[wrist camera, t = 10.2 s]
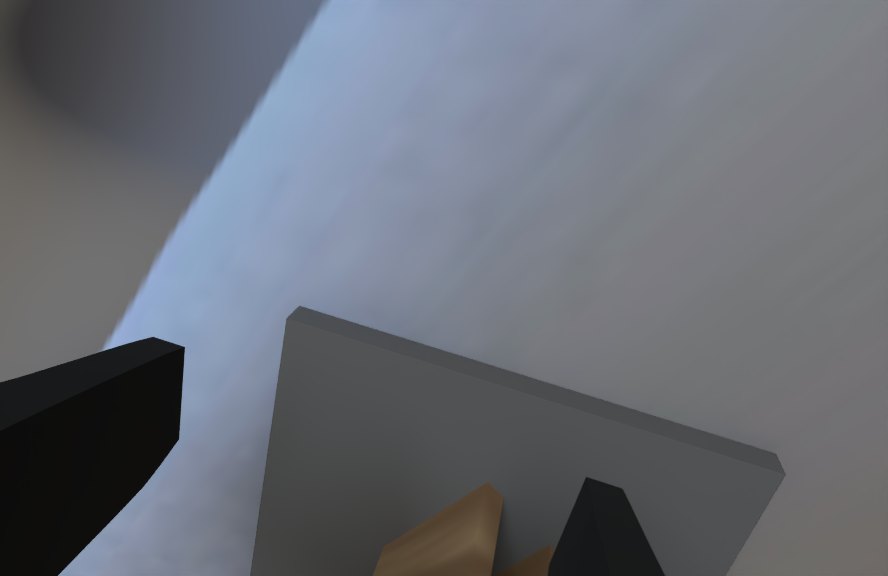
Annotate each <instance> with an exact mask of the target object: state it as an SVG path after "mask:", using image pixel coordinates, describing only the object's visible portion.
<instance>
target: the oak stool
mask: <svg viewBox="0 0 888 576" xmlns="http://www.w3.org/2000/svg"><path fill="white" fill-rule="evenodd" d="M503 499H504V498H503V497H502V496H501V495H500V494H499V493H498V492H497V491H496V490H495V489H494V488H493V487H492V486H491V485H490V483H489V482H487V483H485V484H484V485H482V486H480V487H479V488H477V489H476V490H474V491H472V492H471V493H469V494H468V495H466V496H464V497H463V498H461V499H460V500H458V501H456V502H455V503H453V504H452V505H450V506H448V507H447V508H445V509H443V510H442V511H440V512H439V513H437V514H435V515H434V516H432V517H431V518H429V519H427V520H426V521H424V522H423V523H421V524H419V525H418V526H416V527H415V528H413V529H411V530H410V531H408V532H407V533H405V534H403V535H402V536H400V537H399V538H397V539H395V540H394V541H392V542H391V543H389V544H387V545H386V546H384V547H383V550H382V552H381V555H380V558H379V560H378V563H377V566H376V568H375V571H374V573H373V576H491V572H492V566H493V560H494V554H495V548H496V541H497V535H498V529H499V523H500V517H501V511H502V505H503ZM554 552H555V550H554V549H553V548H552V547H551V546H550V545H549V546H547V547H545V548H543V549H542V550H540V551H538V552H536V553H534V554H532V555H530V556H529V557H527V558H525V559H523V560H521V561H519V562H517V563H516V564H514V565H512V566H510V567H508V568H506V569H504V570H503V571H501V572H499V573H497V574H495V575H493V576H548V568H549V563H550V561H551V559H552V556H553V554H554Z"/></svg>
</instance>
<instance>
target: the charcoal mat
mask: <svg viewBox="0 0 888 576" xmlns="http://www.w3.org/2000/svg"><path fill="white" fill-rule="evenodd" d="M785 475H786V474H785V472H784V470H783V468H782V466H781V463H780V461H779V459H778V457H777V455H776V454H774V453H771V452H768V451H765V450H761V449H758V448H755V447H752V446H749V445H745V444H742V443H739V442H736V441H733V440H729V439H726V438H723V437H720V436H716V435H713V434H710V433H707V432H704V431H700V430H697V429H694V428H691V427H687V426H684V425H681V424H678V423H675V422H671V421H668V420H665V419H662V418H658V417H655V416H652V415H649V414H646V413H642V412H639V411H636V410H633V409H629V408H626V407H623V406H620V405H617V404H613V403H610V402H607V401H604V400H600V399H597V398H594V397H591V396H588V395H584V394H581V393H578V392H575V391H572V390H568V389H565V388H562V387H559V386H555V385H552V384H549V383H546V382H543V381H539V380H536V379H533V378H530V377H526V376H523V375H520V374H517V373H514V372H510V371H507V370H504V369H501V368H497V367H494V366H491V365H488V364H485V363H481V362H478V361H475V360H472V359H468V358H465V357H462V356H459V355H456V354H452V353H449V352H446V351H443V350H439V349H436V348H433V347H430V346H427V345H423V344H420V343H417V342H414V341H410V340H407V339H404V338H401V337H398V336H394V335H391V334H388V333H385V332H382V331H378V330H375V329H372V328H369V327H365V326H362V325H359V324H356V323H353V322H349V321H346V320H343V319H340V318H336V317H333V316H330V315H327V314H324V313H320V312H317V311H314V310H311V309H307V308H304V307H301V306H299V307H298V308H297V309H296V310H295V311H294V312H293V313H292V314H291V315H290V316H289V317H288V318H287V319H286V326H285V334H284V341H283V348H282V355H281V362H280V369H279V376H278V383H277V390H276V397H275V404H274V412H273V419H272V426H271V433H270V440H269V447H268V454H267V461H266V468H265V475H264V482H263V490H262V497H261V504H260V511H259V518H258V525H257V532H256V539H255V546H254V553H253V560H252V568H251V575H250V576H373V573H374V571H375V568H376V566H377V563H378V560H379V558H380V555H381V552H382V550H383V547H384V546H386V545H387V544H389V543H391V542H392V541H394V540H395V539H397V538H399V537H400V536H402V535H403V534H405V533H407V532H408V531H410V530H411V529H413V528H415V527H416V526H418V525H419V524H421V523H423V522H424V521H426V520H427V519H429V518H431V517H432V516H434V515H435V514H437V513H439V512H440V511H442V510H443V509H445V508H447V507H448V506H450V505H452V504H453V503H455V502H456V501H458V500H460V499H461V498H463V497H464V496H466V495H468V494H469V493H471V492H472V491H474V490H476V489H477V488H479V487H480V486H482V485H484V484H485V483H487V482H489V483H490V485H491V486H492V487H493V488H494V489H495V490H496V491H497V492H498V493H499V494H500V495H501V496H502V497H503V498H504V499H503V505H502V511H501V517H500V523H499V529H498V535H497V541H496V548H495V554H494V560H493V566H492V572H491V576H493V575H495V574H497V573H499V572H501V571H503V570H504V569H506V568H508V567H510V566H512V565H514V564H516V563H517V562H519V561H521V560H523V559H525V558H527V557H529V556H530V555H532V554H534V553H536V552H538V551H540V550H542V549H543V548H545V547H547V546H549V545H550V546H551V547H552V548H553V549H554V550H555V549H556V547H557V544H558V542H559V540H560V537H561V535H562V533H563V530H564V528H565V525H566V523H567V521H568V518H569V516H570V514H571V511H572V509H573V507H574V504H575V502H576V499H577V497H578V495H579V492H580V490H581V488H582V485H583V483H584V481H585V478H586V477H588V478H591V479H595V480H598V481H601V482H604V483H607V484H610V485H613V486H616V487H619V488H622V489H623V490H624V492H625V494H626V496H627V498H628V500H629V502H630V504H631V506H632V508H633V511H634V513H635V515H636V517H637V519H638V521H639V523H640V525H641V527H642V529H643V531H644V534H645V536H646V538H647V540H648V542H649V544H650V546H651V548H652V550H653V552H654V554H655V556H656V558H657V560H658V562H659V564H660V566H661V568H662V570H663V572H664V574H665V576H726V574H727V572H728V571H729V569H730V567H731V566H732V564H733V562H734V561H735V559H736V557H737V556H738V554H739V552H740V551H741V549H742V547H743V546H744V544H745V542H746V540H747V539H748V537H749V535H750V534H751V532H752V530H753V529H754V527H755V525H756V524H757V522H758V520H759V519H760V517H761V515H762V514H763V512H764V510H765V509H766V507H767V505H768V504H769V502H770V500H771V499H772V497H773V495H774V494H775V492H776V490H777V489H778V487H779V485H780V483H781V482H782V480H783V478H784V477H785Z"/></svg>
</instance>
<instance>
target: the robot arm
mask: <svg viewBox="0 0 888 576" xmlns="http://www.w3.org/2000/svg"><path fill="white" fill-rule="evenodd" d="M184 352H185V347H183V346H180V345H177V344H173V343H170V342H167V341H164V340H161V339H158V338H155V337H151V338H147V339H143V340H139V341H135V342H132V343H128V344H125V345H122V346H118V347H115V348H112V349H108V350H105V351H102V352H99V353H96V354H93V355H89V356H87V357H83V358H80V359H77V360H74V361H70V362H67V363H64V364H61V365H57V366H54V367H51V368H48V369H45V370H41V371H38V372H35V373H32V374H29V375H25V376H22V377H19V378H15V379H11V380H8V381H4V382H0V576H58V575H59V574H60V573H61V572H62V571H63V570H64V569H65V568H66V567H67V566H68V565H69V564H70V563H71V562H72V560H73V559H74V558H75V557H76V556H77V555H78V554H79V553H80V552H81V551H82V550H83V549H84V548H85V547H86V546H87V545H88V544H89V543H90V542H91V541H92V540H93V539H94V538H95V537H96V536H97V535H98V534H99V533H100V532H101V531H102V530H103V529H104V528H105V527H106V526H107V525H108V524H109V522H110V521H111V520H112V519H113V518H114V517H115V516H116V515H117V514H118V513H119V512H120V511H121V510H122V509H123V508H124V507H125V506H126V505H127V504H128V503H129V502H130V501H131V500H132V498H133V497H134V496H135V495H136V494H137V493H138V492H139V491H140V490H141V489H142V488H143V487H144V485H145V484H146V483H147V482H148V480H149V479H150V478H151V476H152V475H153V474H154V473H155V471H156V470H157V469H158V467H159V466H160V465H161V463H162V462H163V461H164V459H165V458H166V456H167V455H168V454H169V452H170V451H171V450H172V448H173V447H174V445H175V444H176V443H177V441H178V440H179V430H180V415H181V399H182V384H183V368H184ZM548 576H665V574H664V572H663V570H662V568H661V566H660V564H659V562H658V560H657V558H656V556H655V554H654V552H653V550H652V548H651V546H650V544H649V542H648V540H647V538H646V536H645V534H644V531H643V529H642V527H641V525H640V523H639V521H638V519H637V517H636V515H635V513H634V511H633V508H632V506H631V504H630V502H629V500H628V498H627V496H626V494H625V492H624V490H623V489H622V488H619V487H616V486H613V485H610V484H607V483H604V482H601V481H598V480H595V479H591V478H588V477H586V478H585V481H584V483H583V485H582V488H581V490H580V492H579V495H578V497H577V499H576V502H575V504H574V507H573V509H572V511H571V514H570V516H569V518H568V521H567V523H566V525H565V528H564V530H563V533H562V535H561V537H560V540H559V542H558V544H557V547H556V549H555V552H554V554H553V556H552V559H551V561H550V563H549V568H548Z"/></svg>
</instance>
